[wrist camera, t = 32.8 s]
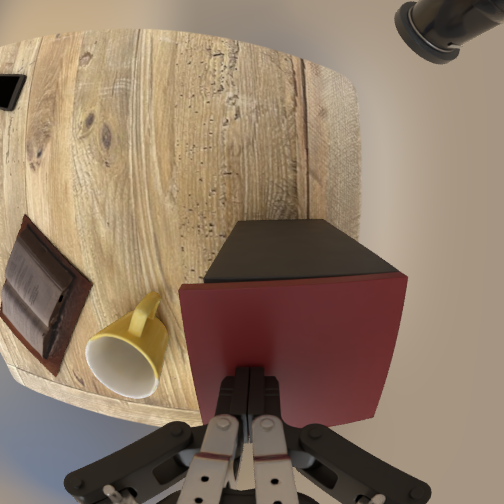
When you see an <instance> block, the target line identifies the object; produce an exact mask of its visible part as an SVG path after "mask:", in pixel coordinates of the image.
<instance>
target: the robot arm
mask: <svg viewBox="0 0 504 504" xmlns="http://www.w3.org/2000/svg"><path fill="white" fill-rule="evenodd" d="M407 19H408V22H409V25H410V27H411V28H412V30H413V31H414V33H415V34H416V35H417V36H418V38H419V39H420V40H421V41H422V42H424V43H425V44H426V45H427V46H429V47H430V48H432V49H433V50H435V51H438V52H440V53H450V52H452V51H453V50H455V48H458V49H459V48H461V47H462V46H461V45H463V44H464V43H466V42H468V41H470V40H472V39H473V38H475V37H477V36H479V35H481V34H482V33H484V32H486V31H488V30H490V29H492V28H494V27H496V26H497V25H500V24H502V23H503V22H504V0H419V1H418V2H417V3H416V4H415V5H414V6H412V7H411V8H410V9H409V11H408V13H407ZM249 438H250V443H253V460H254V476H255V489H250V490H243V491H239V490H237V482H238V476H239V471H240V466H241V461H242V452H243V444H244V443H248V441H249ZM292 467H295V468H296V469H297V471H298V472H300V473H301V474H302V475H304V476H305V477H306V478H307V479H309V480H310V481H311V482H313V483H314V484H315V485H317V486H318V487H319V488H321V489H322V490H323V491H325V492H326V493H328V494H329V495H330V496H332V497H333V498H335V499H336V500H338V501H339V502H341V503H342V504H426V503H427V502H428V501H429V499H430V497H431V488H430V486H429V485H428V484H427V483H425V482H423V481H421V480H418V479H417V478H415V477H412V476H410V475H408V474H407V473H405V472H403V471H401V470H399V469H397V468H395V467H393V466H391V465H389V464H388V463H386V462H384V461H382V460H380V459H379V458H377V457H375V456H373V455H371V454H370V453H368V452H366V451H365V450H363V449H361V448H360V447H358V446H356V445H355V444H353V443H351V442H350V441H348V440H347V439H345V438H343V437H342V436H340V435H339V434H337V433H336V432H334V431H332V430H331V429H329V428H328V427H326V426H325V425H322V424H318V423H313V424H308V425H306V426H304V427H303V428H297V427H293V426H290V425H288V424H286V423H285V422H284V421H283V419H282V417H281V405H280V390H279V381H278V380H277V379H276V377H275V376H265V373H264V367H251V372H250V367H236V370H235V376H226V377H225V378H224V379H223V380H222V381H221V385H220V390H219V396H218V400H217V405H216V410H215V415H214V417H213V418H211V419H210V421H209V423H207V424H205V425H202V426H197V427H190V426H189V425H188V424H187V423H185V422H181V421H174V422H170V423H168V424H166V425H164V426H163V427H161V428H159V429H158V430H156V431H154V432H152V433H150V434H149V435H147V436H145V437H143V438H141V439H140V440H138V441H136V442H134V443H132V444H130V445H128V446H126V447H124V448H123V449H121V450H119V451H117V452H115V453H113V454H111V455H108V456H106V457H104V458H102V459H100V460H98V461H96V462H94V463H92V464H89V465H87V466H85V467H83V468H80V469H78V470H76V471H73V472H71V473H69V474H68V475H67V476H66V477H65V479H64V487H65V489H66V490H67V492H69V493H70V494H71V495H72V496H73V497H74V498H75V499H76V500H77V501H78V502H79V503H80V504H142V503H144V502H146V501H147V500H149V499H151V498H153V497H154V496H156V495H158V494H159V493H161V492H163V491H164V490H166V489H168V488H169V487H171V486H172V485H174V484H176V483H177V482H179V481H180V480H182V479H183V478H185V477H186V478H185V481H184V484H183V487H182V490H179V491H176V492H174V493H172V494H170V495H169V496H167V497H166V498H164V499H163V500H161V501H159V502H158V503H156V504H319V503H318V502H317V501H315V500H314V499H312V498H311V497H309V496H307V495H305V494H302V493H299V492H297V491H296V485H295V480H294V474H293V468H292Z"/></svg>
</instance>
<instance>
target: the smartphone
mask: <svg viewBox="0 0 504 504" xmlns="http://www.w3.org/2000/svg"><path fill="white" fill-rule="evenodd" d="M25 78H26V76H25V75H22V74H0V109H1V110H6V111H12V110H13V108H14V106H15V104H16V101H17V98H18V96H19V93H20V91H21V88H22V86H23V84H24V81H25Z"/></svg>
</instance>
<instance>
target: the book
mask: <svg viewBox="0 0 504 504" xmlns="http://www.w3.org/2000/svg"><path fill="white" fill-rule="evenodd" d="M5 277H6V281H5V284H4V285H3V289H2V302H1V307H0V309H1V310H0V317H1V318H2V319H3V321H4V322H5V323H6V325H7V326H8V327H9V329H10V330H11V331H12V332H13V333H14V335H15V336H16V337H17V338H18V339H19V340H20V341H21V342H22V344H24V346H25V347H26V348H27V349H28V350H29V351H30V352H31V353H32V354H33V356H35V357H36V358H37V359H38V360H39V361H40V363H42V364H43V365H44V366H45V367H46V368H47V369H48V370H49V371H50V372H51V373H52V374H53V375H54V376H55V377H56V376H57V373H58V370H59V368H60V364H61V362H62V358H63V356H64V352H65V350H66V348H67V345H68V342H69V339H70V337H71V334H72V332H73V328H74V326H75V324H76V322H77V319H78V317H79V315H80V311H81V309H82V307H83V306H84V303H85V300H86V299H85V298H86V297H87V296H88V293H89V290H91V289H90V288H91V286H92V284H91V283H90V282H89V281H87V279H85V278H84V277H82V275H81V274H80V273H79V272H77V270H76V269H75V268H74V267H73V266H72V267H71V264H69V263H68V262H67V260H66V259H65V258H63V256H62V255H61V254H60V253H59V252H58V250H57V249H56V248H54V246H53V245H52V244H51V243H50V242H49V241H48V240H47V239H46V238H45V236H44V235H43V234H42V233H41V232H40V231H39V230H38V229H37V228H36V226H34V224H33V223H32V222H31V221H30V220H29V218H28V217H26V215H24V217H23V222H22V224H21V229H20V230H19V233H18V236H17V239H16V242H15V244H14V247H13V250H12V252H11V255H10V258H9V261H8V264H7V266H6V270H5ZM61 295H63V296H64V297H63V299H62V301H61V302H58V301H59V298H60V296H61Z"/></svg>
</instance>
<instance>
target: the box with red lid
mask: <svg viewBox="0 0 504 504" xmlns="http://www.w3.org/2000/svg"><path fill="white" fill-rule="evenodd" d="M393 272H400V271H399V270H397V269H396V268H394V267H393V266H392V265H390V264H389V263H388V262H386V261H385V260H383V259H382V258H380V257H379V256H378V255H376V254H375V253H373V252H372V251H370V250H369V249H367V248H366V247H364V246H363V245H361V244H360V243H359V242H357V241H356V240H354V239H353V238H351V237H350V236H348V235H347V234H345V233H344V232H342V231H341V230H339V229H337V228H336V227H334V226H333V225H331V224H330V223H328V222H327V221H325V220H323V219H292V220H249V221H238V222H237V223H236V225H235V227H234V228H233V230H232V232H231V233H230V235H229V236H228V238H227V240H226V241H225V243H224V245H223V246H222V248H221V250H220V251H219V253H218V255H217V256H216V258H215V260H214V261H213V263H212V265H211V266H210V268H209V270H208V271H207V273H206V275H205V277H204V283H231V282H255V281H276V280H295V279H312V278H327V277H342V276H356V275H369V274H381V273H393Z"/></svg>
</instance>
